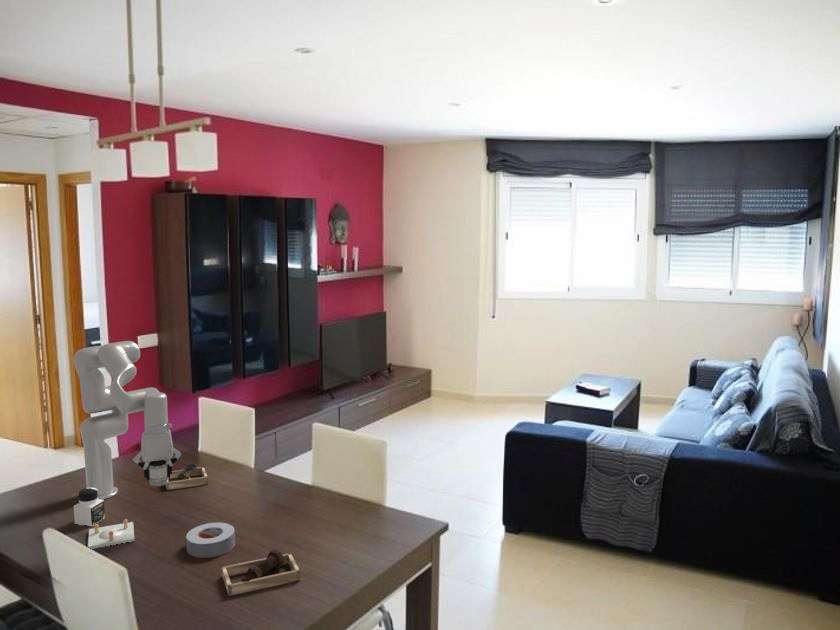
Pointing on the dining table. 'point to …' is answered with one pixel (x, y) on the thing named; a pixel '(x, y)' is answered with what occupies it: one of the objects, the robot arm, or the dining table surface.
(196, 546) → the tape roll
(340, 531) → the dining table surface
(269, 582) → the bolt frame
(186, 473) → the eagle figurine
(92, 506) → the medicine bottle
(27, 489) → the dining table surface
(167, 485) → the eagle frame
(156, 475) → the camera lens
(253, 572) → the bolt
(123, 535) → the pin board
